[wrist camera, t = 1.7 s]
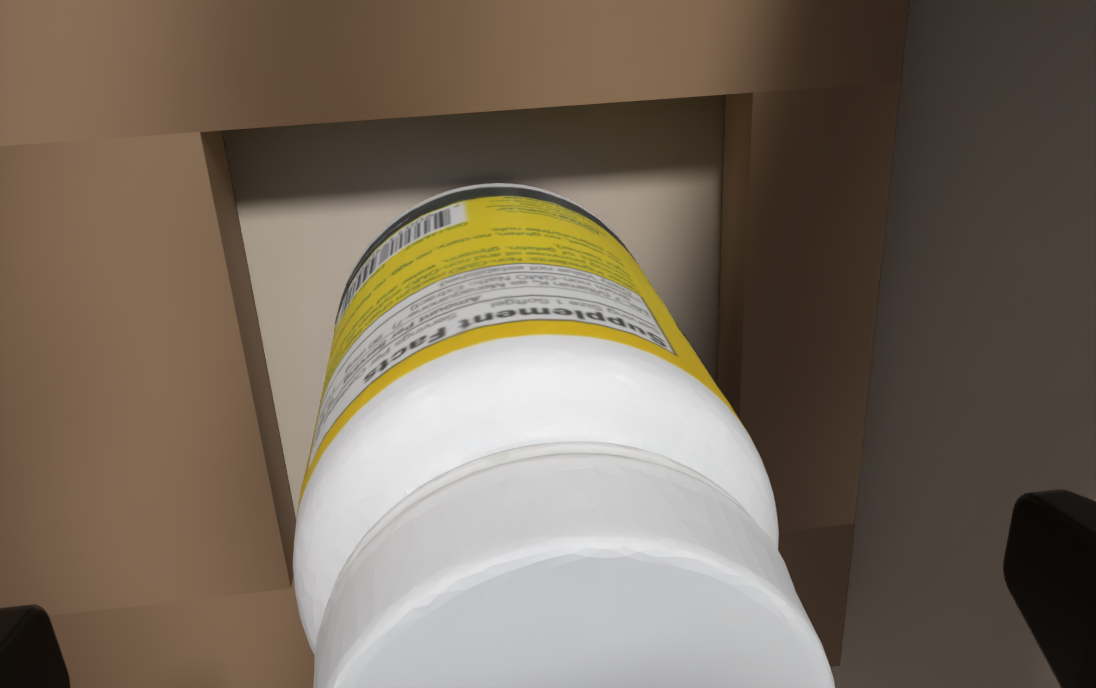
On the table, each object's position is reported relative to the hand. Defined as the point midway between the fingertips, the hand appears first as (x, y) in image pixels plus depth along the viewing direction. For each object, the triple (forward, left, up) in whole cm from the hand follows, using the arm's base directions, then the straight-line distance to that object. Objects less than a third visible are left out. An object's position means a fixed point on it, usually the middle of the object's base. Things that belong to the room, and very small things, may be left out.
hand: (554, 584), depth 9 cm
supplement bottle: (0, 0, -7) cm, 7 cm away
